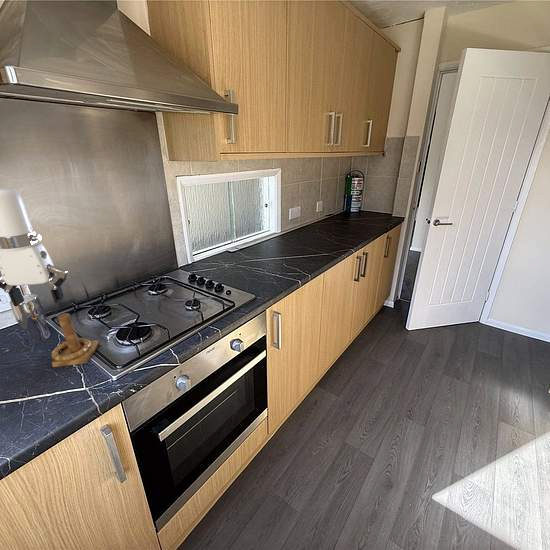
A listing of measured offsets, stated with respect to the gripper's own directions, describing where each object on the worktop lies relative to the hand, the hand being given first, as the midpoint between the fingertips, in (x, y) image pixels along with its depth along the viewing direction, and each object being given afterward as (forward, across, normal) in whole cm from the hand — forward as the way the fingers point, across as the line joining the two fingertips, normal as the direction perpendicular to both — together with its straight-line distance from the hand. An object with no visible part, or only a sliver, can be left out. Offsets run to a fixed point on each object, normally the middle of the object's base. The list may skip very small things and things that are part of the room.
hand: (39, 302), depth 78 cm
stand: (+18, -5, 0) cm, 19 cm away
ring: (+16, -4, 0) cm, 16 cm away
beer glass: (+19, +10, -10) cm, 23 cm away
